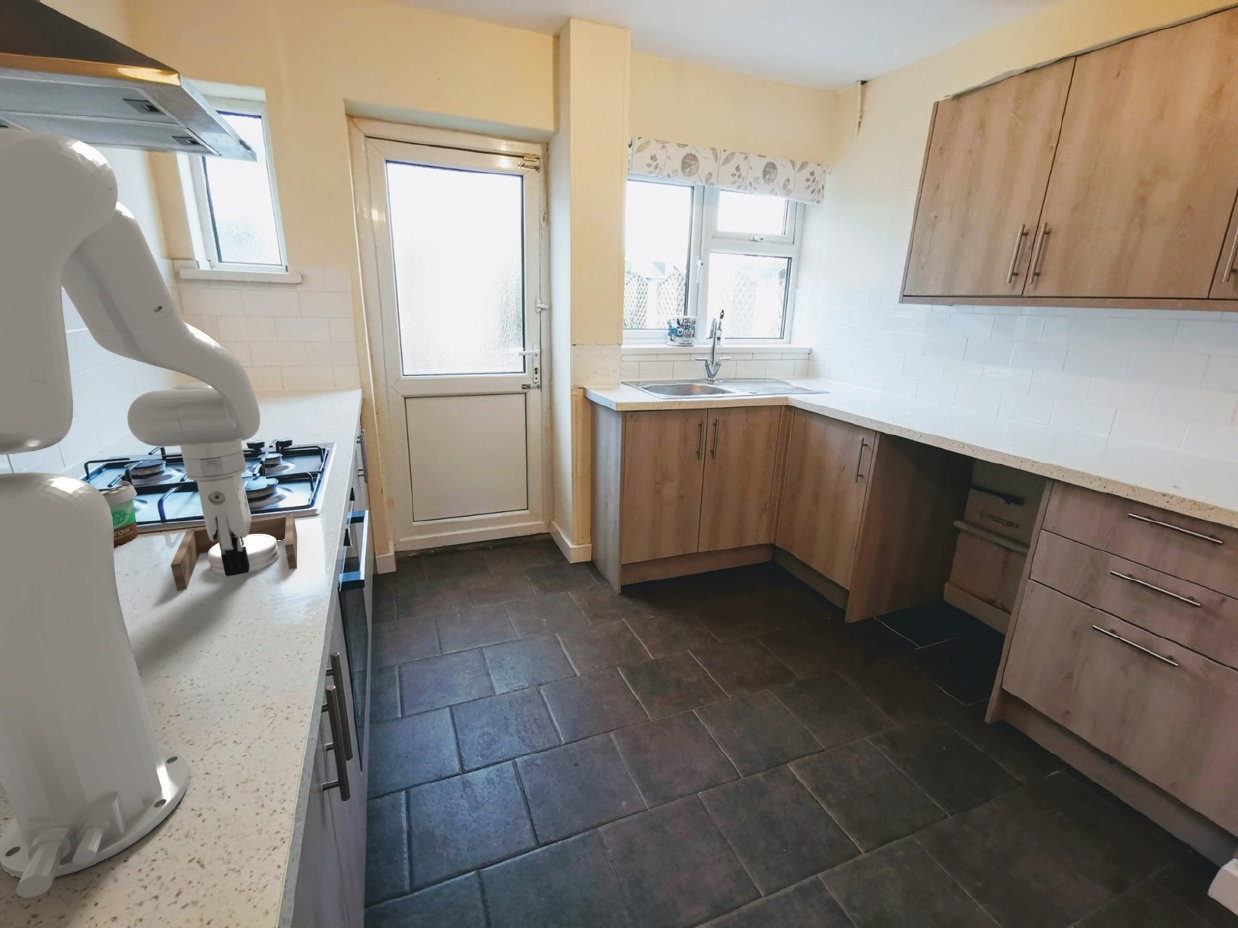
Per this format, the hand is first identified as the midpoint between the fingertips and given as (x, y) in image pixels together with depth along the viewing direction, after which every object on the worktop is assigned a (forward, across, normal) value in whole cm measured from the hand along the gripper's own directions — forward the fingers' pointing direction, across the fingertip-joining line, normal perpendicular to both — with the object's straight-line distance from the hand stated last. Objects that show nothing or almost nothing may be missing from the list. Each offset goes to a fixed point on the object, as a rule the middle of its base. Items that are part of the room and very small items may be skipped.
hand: (238, 572), depth 91 cm
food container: (+2, +27, +21) cm, 34 cm away
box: (+1, +7, 0) cm, 7 cm away
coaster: (+2, +7, 0) cm, 7 cm away
